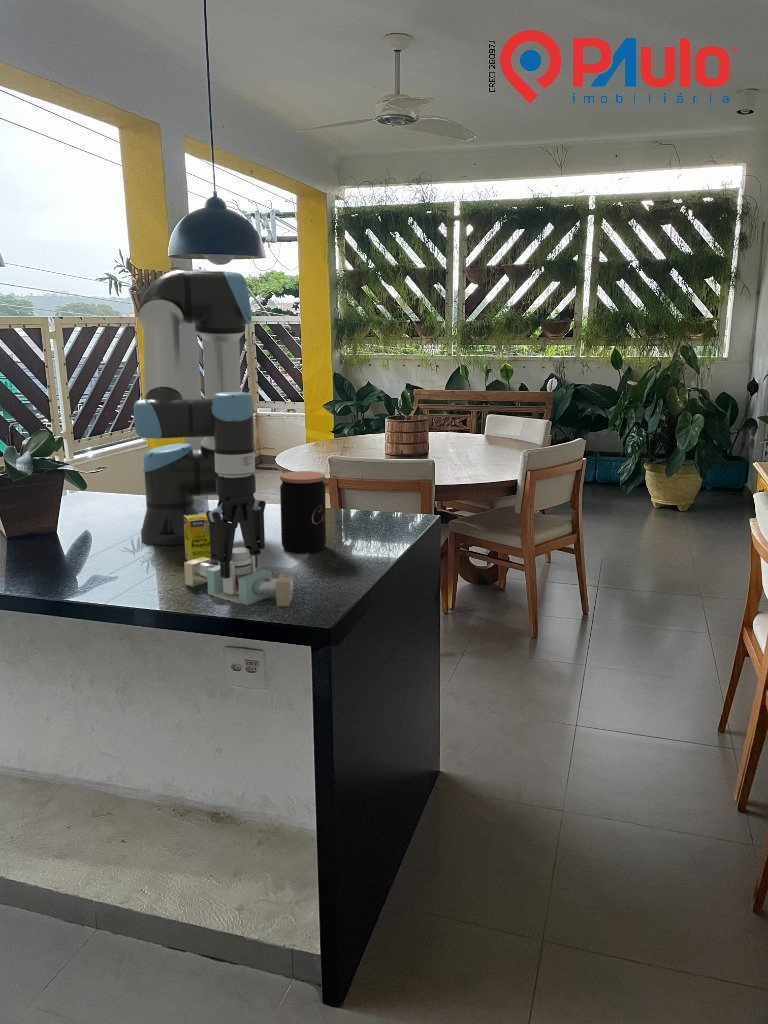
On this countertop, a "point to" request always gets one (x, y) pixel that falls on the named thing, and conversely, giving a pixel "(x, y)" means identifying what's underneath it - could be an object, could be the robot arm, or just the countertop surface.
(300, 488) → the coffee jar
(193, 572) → the shaft
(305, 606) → the countertop surface
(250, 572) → the pill bottle
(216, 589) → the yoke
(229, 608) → the countertop surface
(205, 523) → the supplement box
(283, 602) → the shaft
